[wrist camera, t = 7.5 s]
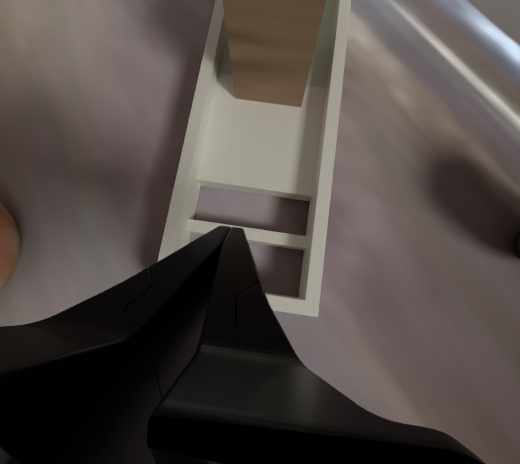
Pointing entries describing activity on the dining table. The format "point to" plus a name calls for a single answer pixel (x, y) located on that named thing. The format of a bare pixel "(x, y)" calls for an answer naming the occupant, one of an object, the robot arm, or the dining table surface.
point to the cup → (517, 242)
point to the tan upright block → (272, 47)
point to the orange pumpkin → (8, 246)
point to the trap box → (264, 150)
